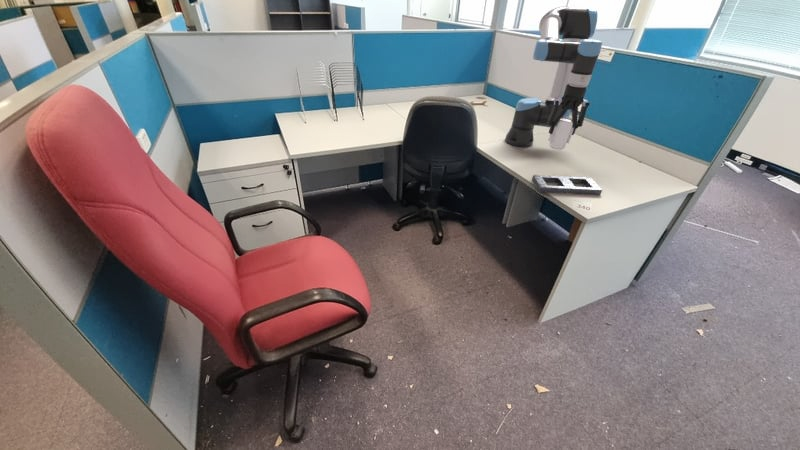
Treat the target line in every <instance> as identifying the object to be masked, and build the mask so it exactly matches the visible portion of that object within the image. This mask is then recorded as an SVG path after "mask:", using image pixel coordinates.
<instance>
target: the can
mask: <svg viewBox="0 0 800 450" xmlns="http://www.w3.org/2000/svg"><path fill="white" fill-rule="evenodd" d="M572 122H573V120H572V118H569V117H568V118H565V117H561V118H560V120H559V121H558V123H557V124H556V127H557V128H556V132H555V135H554V138H553V141H552V142H550V141H549V144H548V146H549V148H552V149H553V150H564V149H565V148H566V146H567V144H568V143H567V140H568V137H569V134H570V131H571V128H572V125H573V123H572Z"/></svg>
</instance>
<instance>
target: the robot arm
mask: <svg viewBox="0 0 800 450" xmlns="http://www.w3.org/2000/svg"><path fill="white" fill-rule="evenodd" d="M597 23H598V11H597V9H596V8H592V7H583V6H582V7H581V6H580V7H579V6H576V7H575V6H559V7H555V8H552V9H551V10H548V12H547V13H545V14H544V15H543V16H542V17H541V19H540V21H539V24H538V25H539V27H538V30H539V34H540V39H538V40H537V41H536V43H535V46H534V50H533V54H532V55H533V56H532V59H533V60H535V61H540V62H550V63H551V62H553V63H557V68H556V72H555V76H554V80H553V82H552V83H553V84H552V86H551V91H550V95H549V96H548V97H547V98H546V99H545V100H544V101H545V102H542V100H541V99H540V98H537V97H526V98H521V99H520V100H518V101H517V103H516V106H515V109H514V110H515V111H514V114H513V119H512V123H511V125H510V126H511V127H510V129H509V130H508V132H507V133H506V135H505V139H504V141H505V142H506V143H507V144H509V145H511V146H513V147H520V148H529V147H531V146H533V144H534V140H535V139H534V128H535V126H537V127H543V128H544V127H546V128H549V131H548V134H549V137H548V140H547V141H548V142H549V143H550V142H552V141H553V138H554V135H555V132H556V128H557V127H556V124H557V123H558V121H559V120H560V118H561V117H565V118H569V117H570V114H571V119H572V120H573V122H572V123H573V125H572V128H571V131H570V134H569V137H568V140H567V143H566V144H569V143H570V141H571V138H572V136H574V135H575V132H576V129H578V128H580V127H582V126H583V124H584V119H585V116H586V113H587V109H588V107H589V106H590V105H591V104H590V102H589V101H587V100H584V98H585V96H586V93H587V90H588V87H587V86H588V85H589V84H590V82H591V78H592V75H593V72H594V69H595V66H596V65H597V61H598V59H599V56H600V53H601V51H602V50H601V49H602V47H603V41H601V40H598V39H591V38H593V36H594V34H595V31H596V29H597ZM560 36H561V40H560ZM580 105H581V107H580V111H579V106H580ZM578 112H579V115H578Z"/></svg>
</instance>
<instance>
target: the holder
mask: <svg viewBox="0 0 800 450" xmlns="http://www.w3.org/2000/svg"><path fill="white" fill-rule="evenodd" d="M531 182H532V183H533V184H534V186H535V188H536V189H537V191H538V192H539V193H543V194H544V193H545V194H547V193H549V194H568V195H569V194H570V195H590V196H591V195H593V196H601V193H602V191H603V189H602V188H601V186H600V185H599V184H598V183H597V182H596V181H595V180H594V179H593V178H592V177H586V176H581V177H580V176H565V175H564V176H562V175H561V176H560V175H542V174H541V175H539V174H538V175H537V174H534V175H532V177H531ZM547 183H552V184H557V185H547ZM576 184H577V185H584V186H575V185H576Z"/></svg>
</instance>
